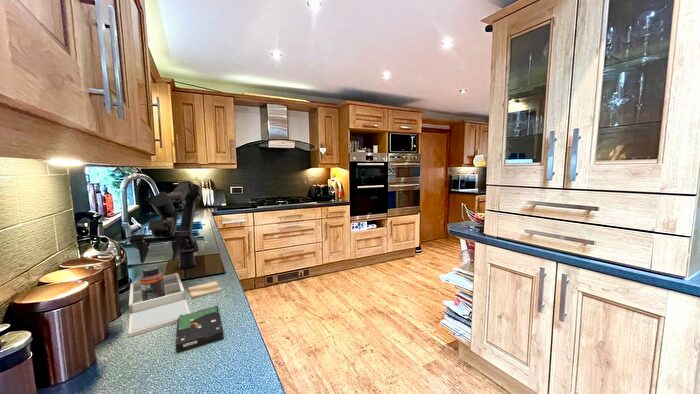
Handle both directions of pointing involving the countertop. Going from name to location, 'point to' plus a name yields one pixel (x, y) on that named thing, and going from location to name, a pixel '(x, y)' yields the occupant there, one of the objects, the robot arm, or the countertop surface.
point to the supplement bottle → (152, 283)
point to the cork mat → (204, 289)
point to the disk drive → (198, 329)
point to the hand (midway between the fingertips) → (157, 261)
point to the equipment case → (156, 307)
